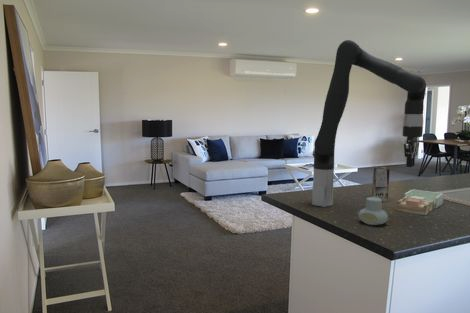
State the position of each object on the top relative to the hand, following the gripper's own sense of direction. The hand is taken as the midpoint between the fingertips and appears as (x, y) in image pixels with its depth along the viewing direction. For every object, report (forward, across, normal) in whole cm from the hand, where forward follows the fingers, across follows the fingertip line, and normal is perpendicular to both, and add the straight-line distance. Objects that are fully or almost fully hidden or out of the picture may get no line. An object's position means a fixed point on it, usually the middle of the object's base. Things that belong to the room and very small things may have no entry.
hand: (410, 166), depth 159 cm
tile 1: (+18, -8, 0) cm, 20 cm away
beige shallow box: (+21, -12, 0) cm, 24 cm away
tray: (+21, -26, 0) cm, 33 cm away
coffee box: (+21, -21, -19) cm, 35 cm away
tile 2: (+18, -15, 0) cm, 24 cm away
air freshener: (+21, +21, -7) cm, 31 cm away
